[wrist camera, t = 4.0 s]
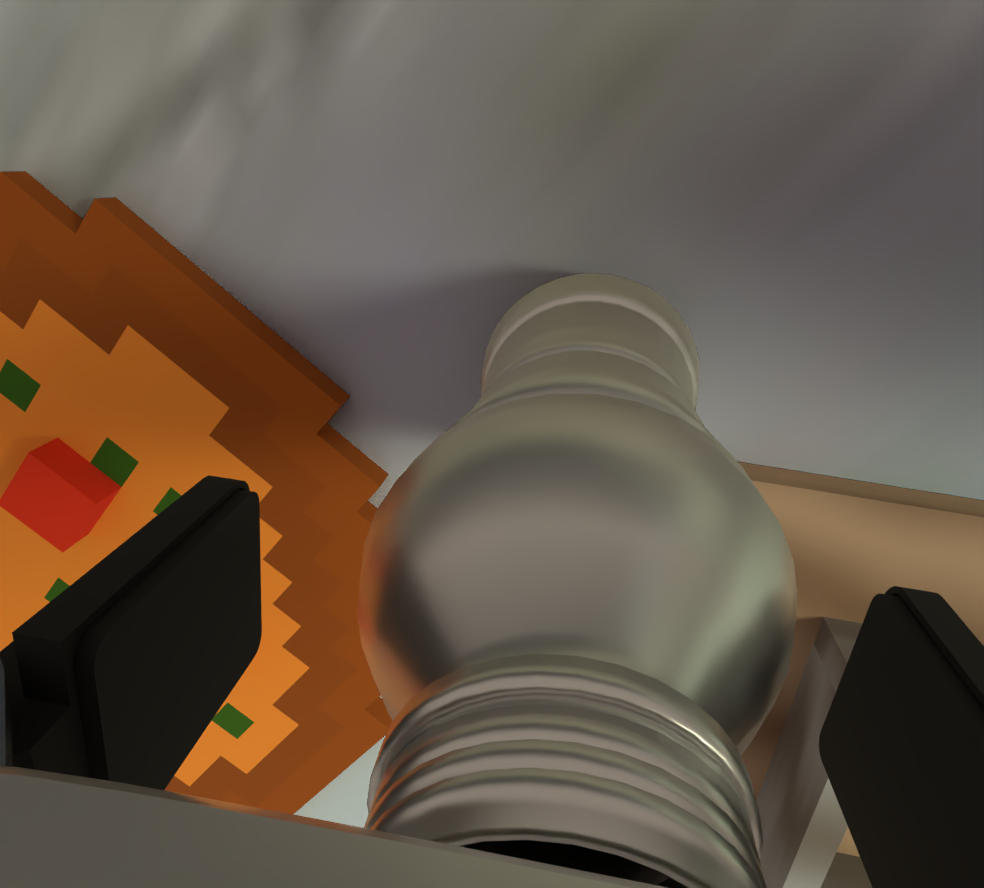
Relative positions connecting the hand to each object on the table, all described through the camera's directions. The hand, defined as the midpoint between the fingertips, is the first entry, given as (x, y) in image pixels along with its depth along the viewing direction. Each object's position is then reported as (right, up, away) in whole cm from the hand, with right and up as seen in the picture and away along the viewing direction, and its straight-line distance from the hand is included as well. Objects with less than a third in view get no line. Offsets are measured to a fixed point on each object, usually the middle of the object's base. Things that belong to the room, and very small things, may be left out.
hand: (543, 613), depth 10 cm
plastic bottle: (+3, +6, +14) cm, 15 cm away
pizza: (-20, -3, +21) cm, 30 cm away
